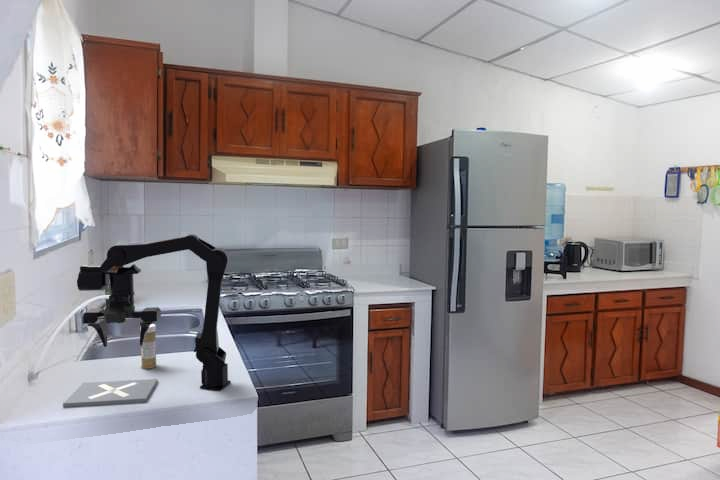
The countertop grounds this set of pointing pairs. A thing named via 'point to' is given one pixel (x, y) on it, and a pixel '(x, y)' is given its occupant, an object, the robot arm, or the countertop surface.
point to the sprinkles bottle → (149, 348)
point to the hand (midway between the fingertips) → (123, 345)
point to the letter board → (111, 392)
